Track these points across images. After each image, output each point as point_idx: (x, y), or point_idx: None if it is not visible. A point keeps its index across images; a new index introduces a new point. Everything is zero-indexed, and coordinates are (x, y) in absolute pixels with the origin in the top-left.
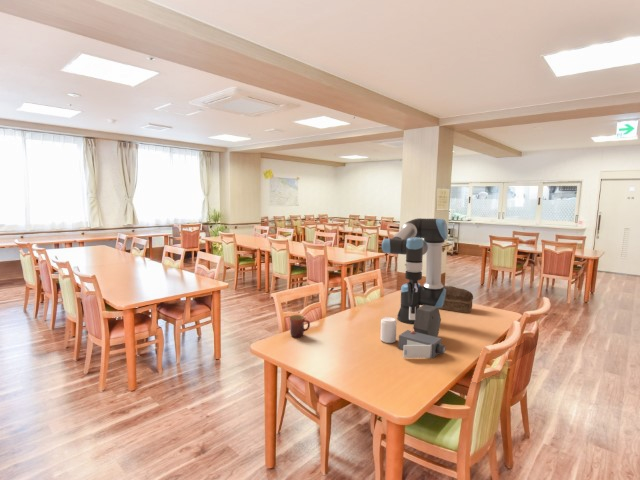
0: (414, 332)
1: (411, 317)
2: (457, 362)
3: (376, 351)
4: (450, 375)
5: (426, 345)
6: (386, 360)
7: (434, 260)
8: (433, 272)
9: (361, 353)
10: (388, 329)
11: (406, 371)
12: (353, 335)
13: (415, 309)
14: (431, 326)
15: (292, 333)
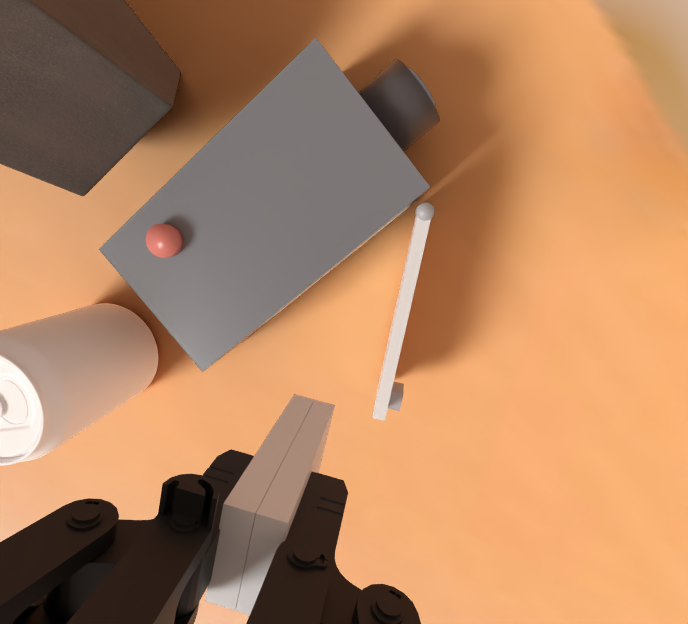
0: (175, 230)
1: (318, 466)
2: (524, 47)
3: None
4: (681, 213)
5: (421, 252)
6: (383, 482)
7: None
8: None
9: None
10: (99, 408)
11: (544, 443)
12: (24, 508)
13: (301, 488)
14: (94, 14)
15: None
